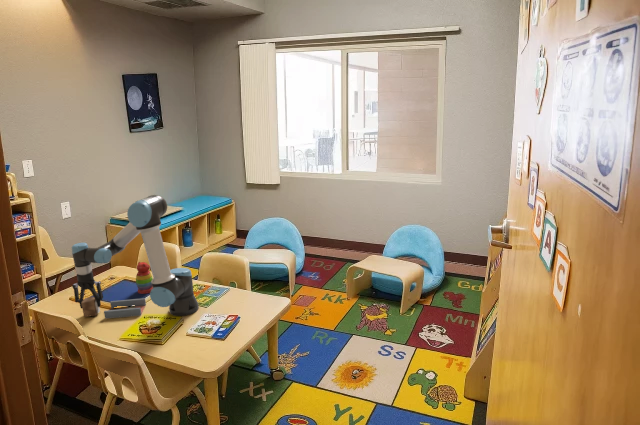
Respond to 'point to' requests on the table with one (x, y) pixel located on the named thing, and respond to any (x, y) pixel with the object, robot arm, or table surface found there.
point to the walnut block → (89, 307)
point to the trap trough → (134, 311)
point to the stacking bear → (144, 278)
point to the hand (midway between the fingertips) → (91, 312)
